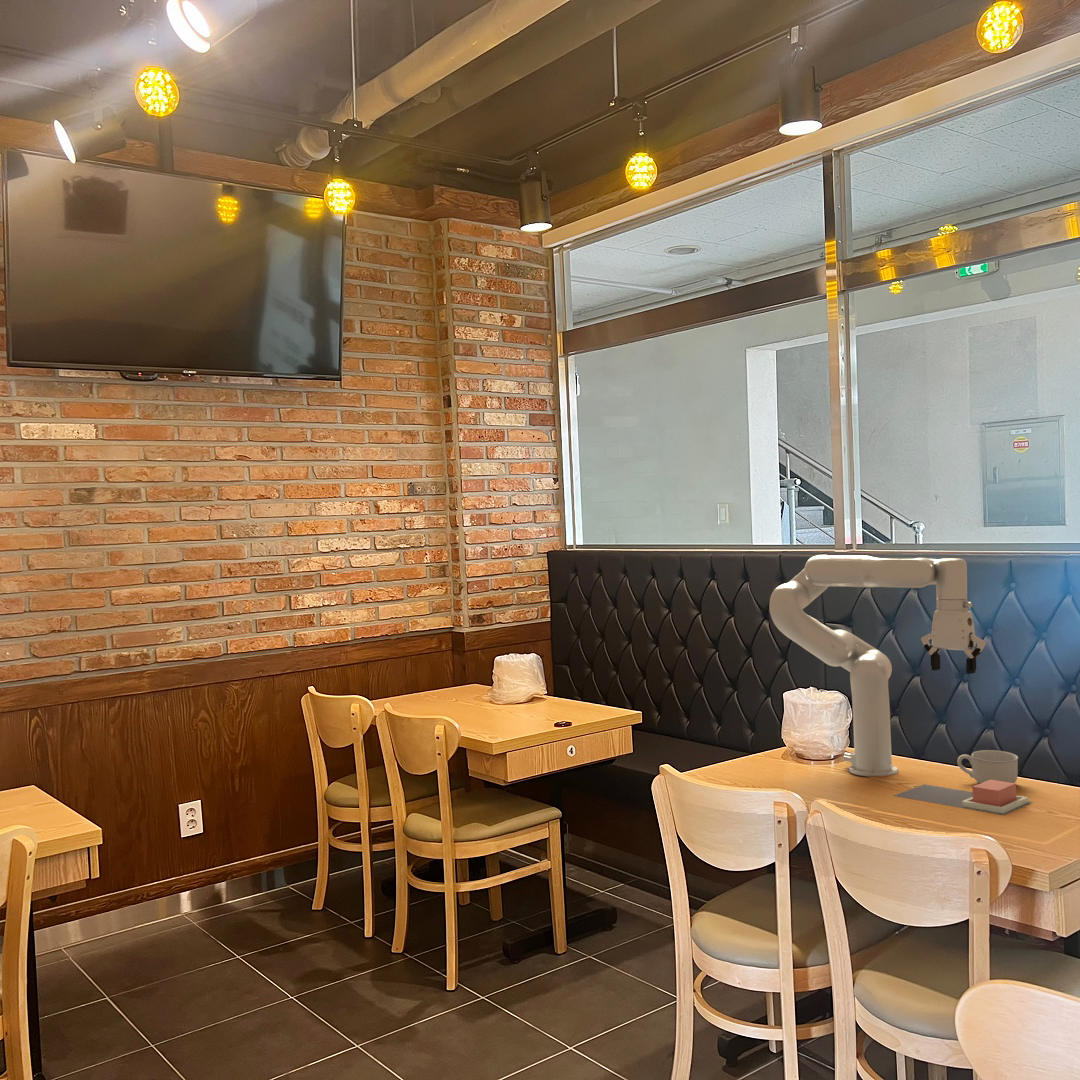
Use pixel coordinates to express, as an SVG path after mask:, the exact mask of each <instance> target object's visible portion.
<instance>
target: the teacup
mask: <svg viewBox="0 0 1080 1080" xmlns="http://www.w3.org/2000/svg"><path fill="white" fill-rule="evenodd" d="M963 759H966V760H968V762H969V764H970V765H971V770H970V769H969V768H966V766H964V765H963V764H962V763H963V762H962V761H963ZM1018 760H1019V756H1018V755H1016V754H1014V753H1012V752H1009V751H1004V750H1003V751H1002V750H993V749H991V750H990V749H986V750H985V749H984V750H983V749H982V750H976V751H973V752H972V753H971V755H969V754H967V753H966V754H961V755H959V756H958V758H957V761H956V763H957V767H958V768H959V769H960V770H961V771H963V772H964V773H965V774H968V775H969V777H970V778H971V779H974V780H975V781H976V782H977V783H978V784H980V783H983V782H985V781H988V780H997V781H1003V782H1010V783H1016V782H1017V780H1018V774H1019V772H1018V771H1019V769H1018V765H1019V764H1018V762H1019V761H1018Z"/></svg>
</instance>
